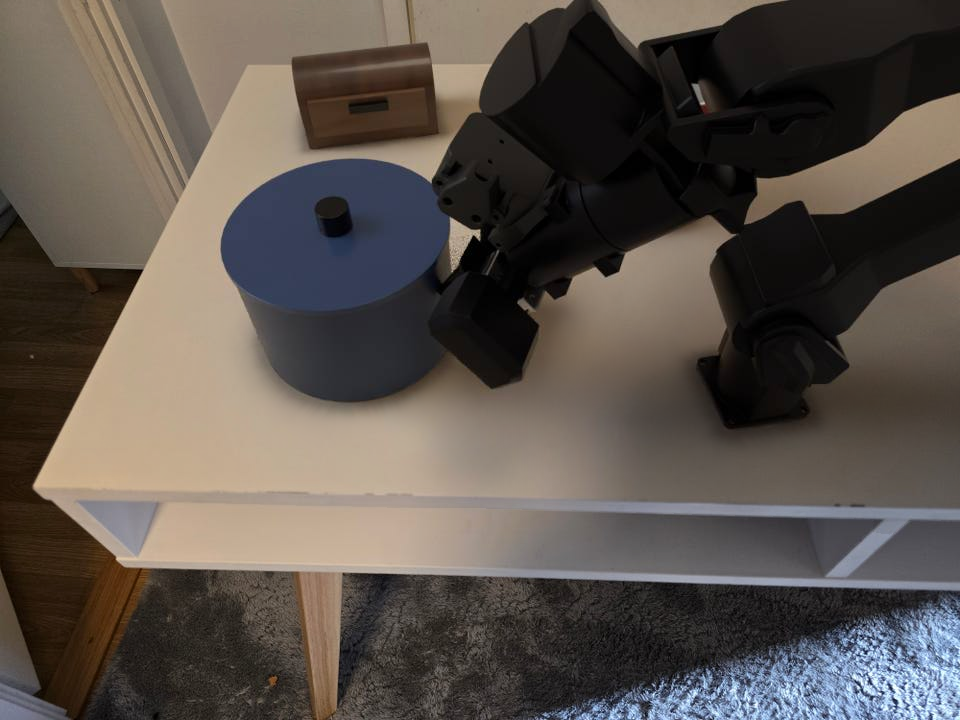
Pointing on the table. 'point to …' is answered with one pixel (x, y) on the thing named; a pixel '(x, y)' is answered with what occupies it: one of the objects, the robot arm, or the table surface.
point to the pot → (342, 275)
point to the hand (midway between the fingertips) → (443, 293)
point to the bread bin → (366, 94)
